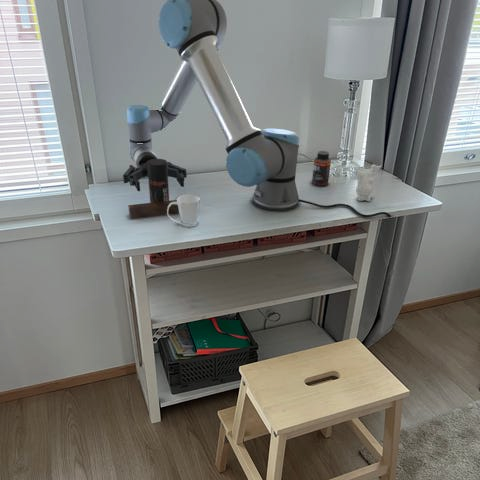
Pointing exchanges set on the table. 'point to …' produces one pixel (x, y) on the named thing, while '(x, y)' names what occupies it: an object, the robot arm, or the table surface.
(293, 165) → the robot arm
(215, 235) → the table surface
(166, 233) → the table surface
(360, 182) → the koala figurine
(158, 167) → the deodorant
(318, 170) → the supplement bottle
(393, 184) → the table surface
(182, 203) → the cup
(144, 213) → the wooden block
